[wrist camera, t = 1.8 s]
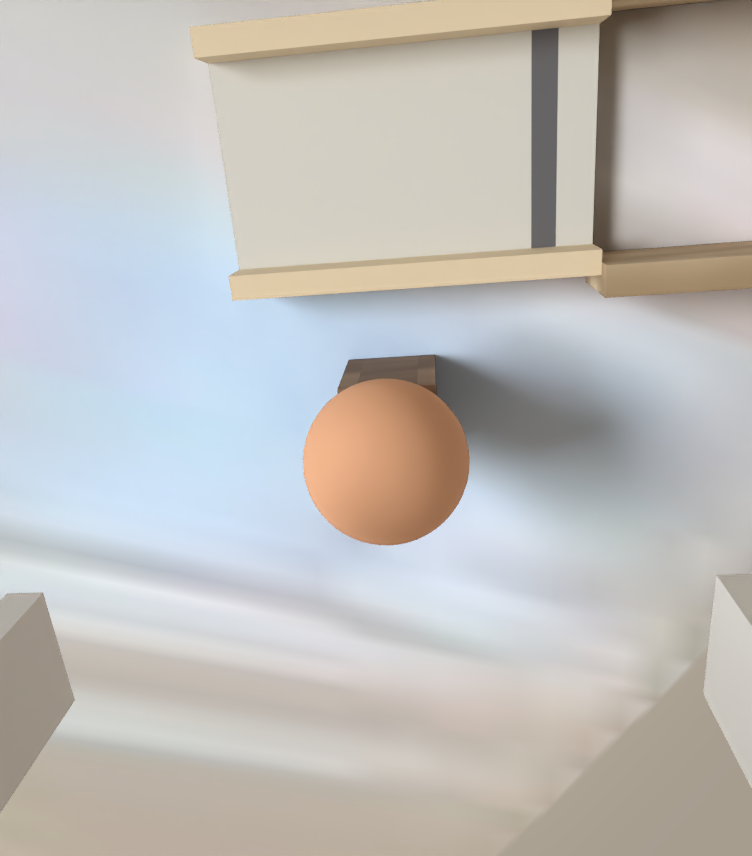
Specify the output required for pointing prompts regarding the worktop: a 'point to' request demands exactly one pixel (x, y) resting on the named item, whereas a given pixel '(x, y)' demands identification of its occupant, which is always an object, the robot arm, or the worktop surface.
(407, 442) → the ball
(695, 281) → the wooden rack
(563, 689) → the worktop surface
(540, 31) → the runway
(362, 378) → the wooden square sleeve
